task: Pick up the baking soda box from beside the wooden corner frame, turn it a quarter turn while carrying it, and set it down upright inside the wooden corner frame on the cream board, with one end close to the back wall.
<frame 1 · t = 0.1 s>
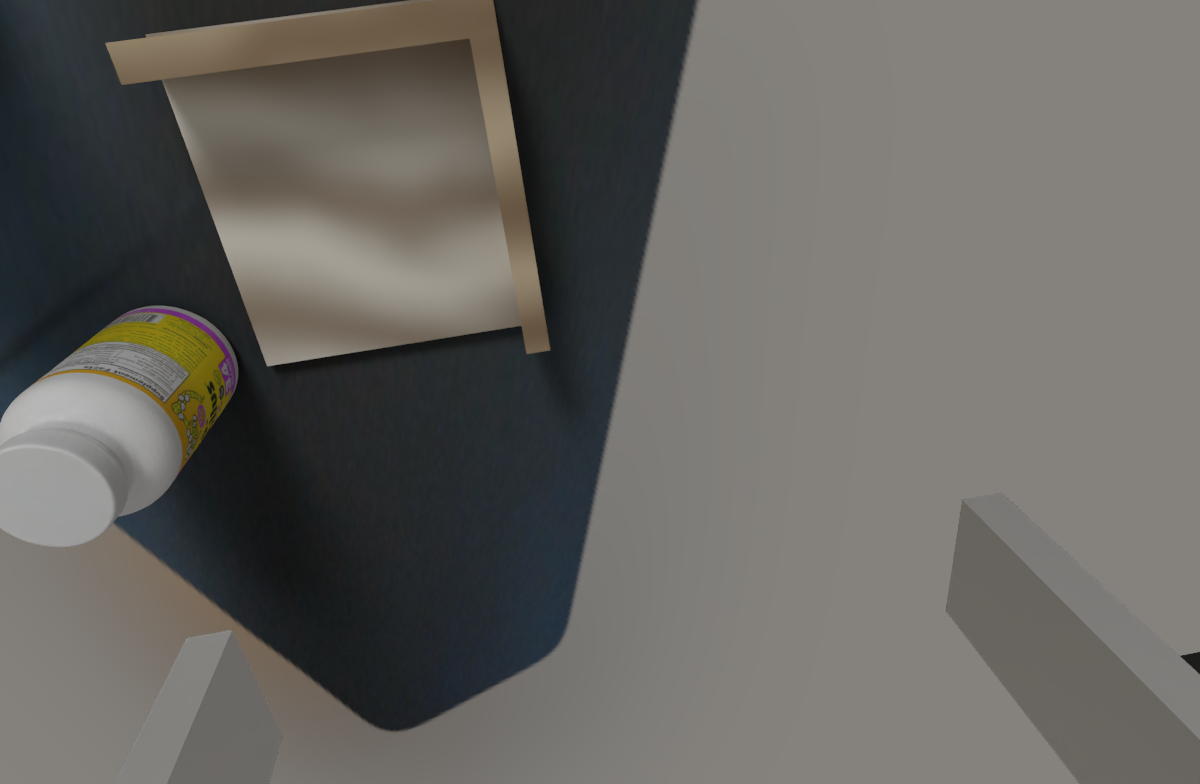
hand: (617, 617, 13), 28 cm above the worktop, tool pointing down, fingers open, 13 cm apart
supplement bottle: (177, 358, 39), on the worktop
wooden corner frame: (360, 194, 36), on the worktop
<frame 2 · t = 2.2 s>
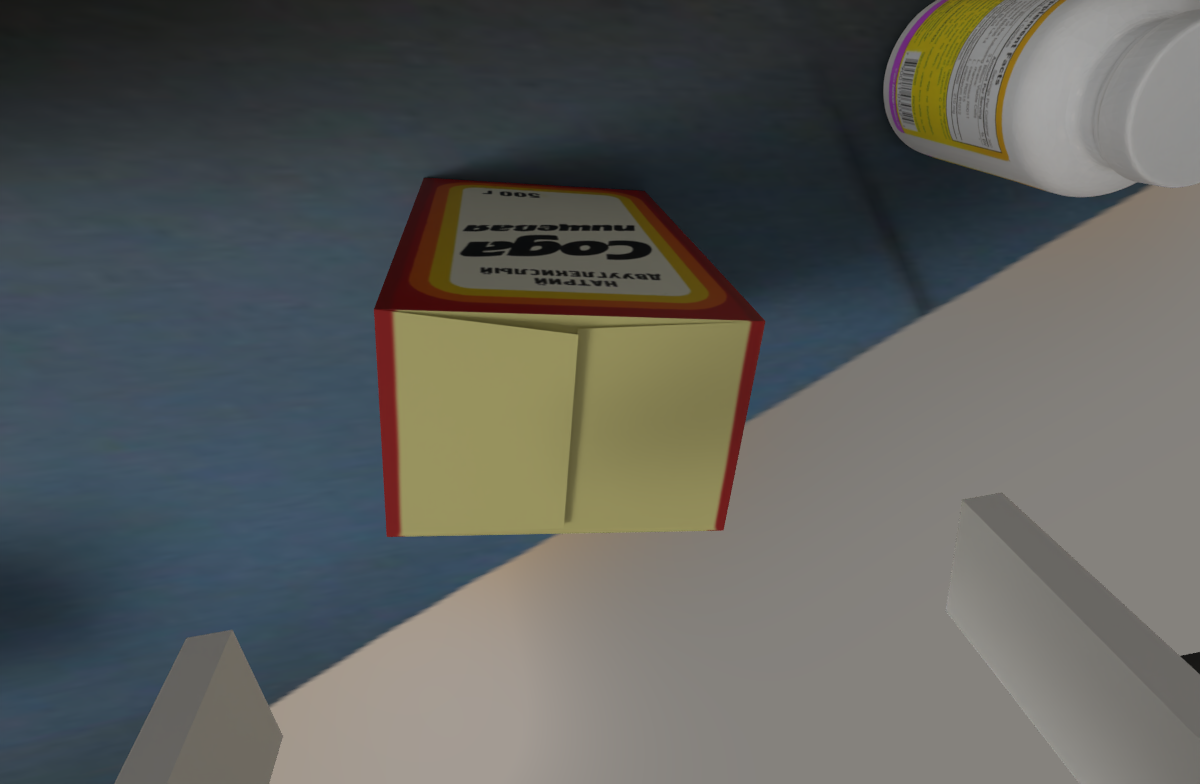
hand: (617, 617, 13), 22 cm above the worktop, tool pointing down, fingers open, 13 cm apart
baking soda box: (533, 257, 33), on the worktop
supplement bottle: (946, 74, 32), on the worktop
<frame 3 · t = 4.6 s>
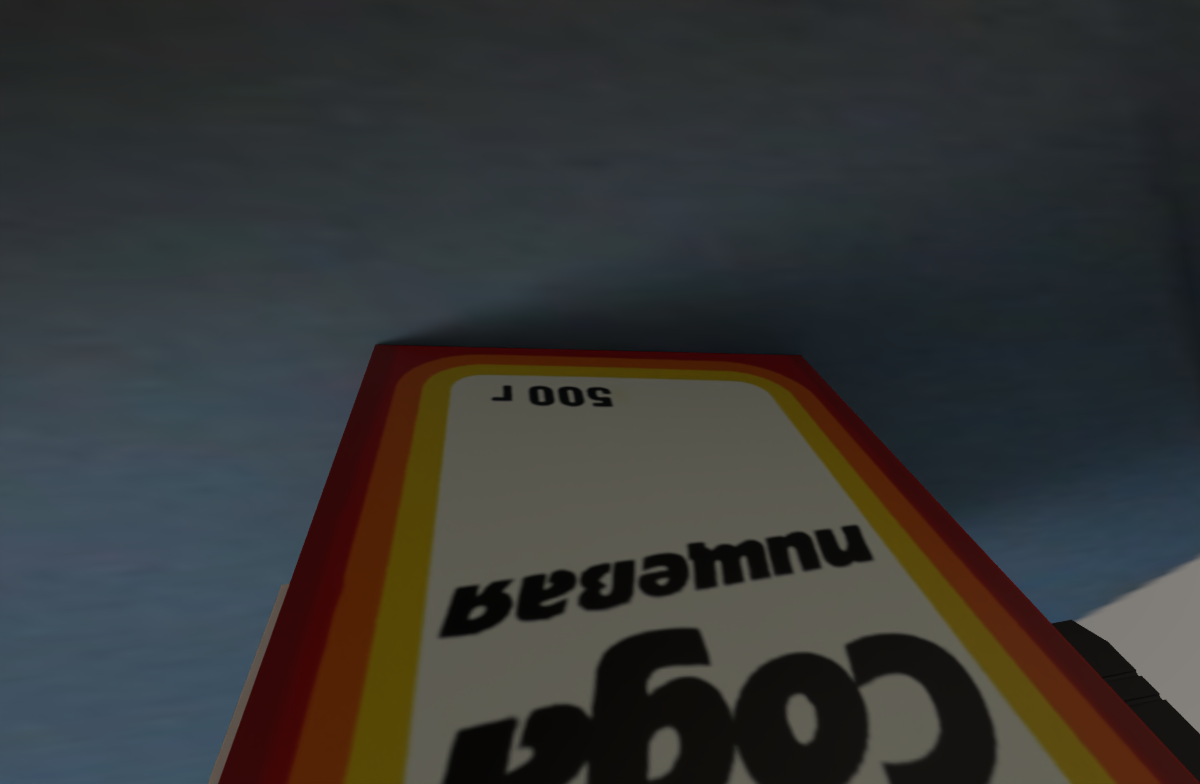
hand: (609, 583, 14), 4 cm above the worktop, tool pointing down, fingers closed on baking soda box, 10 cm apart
baking soda box: (585, 470, 18), on the worktop, touching gripper
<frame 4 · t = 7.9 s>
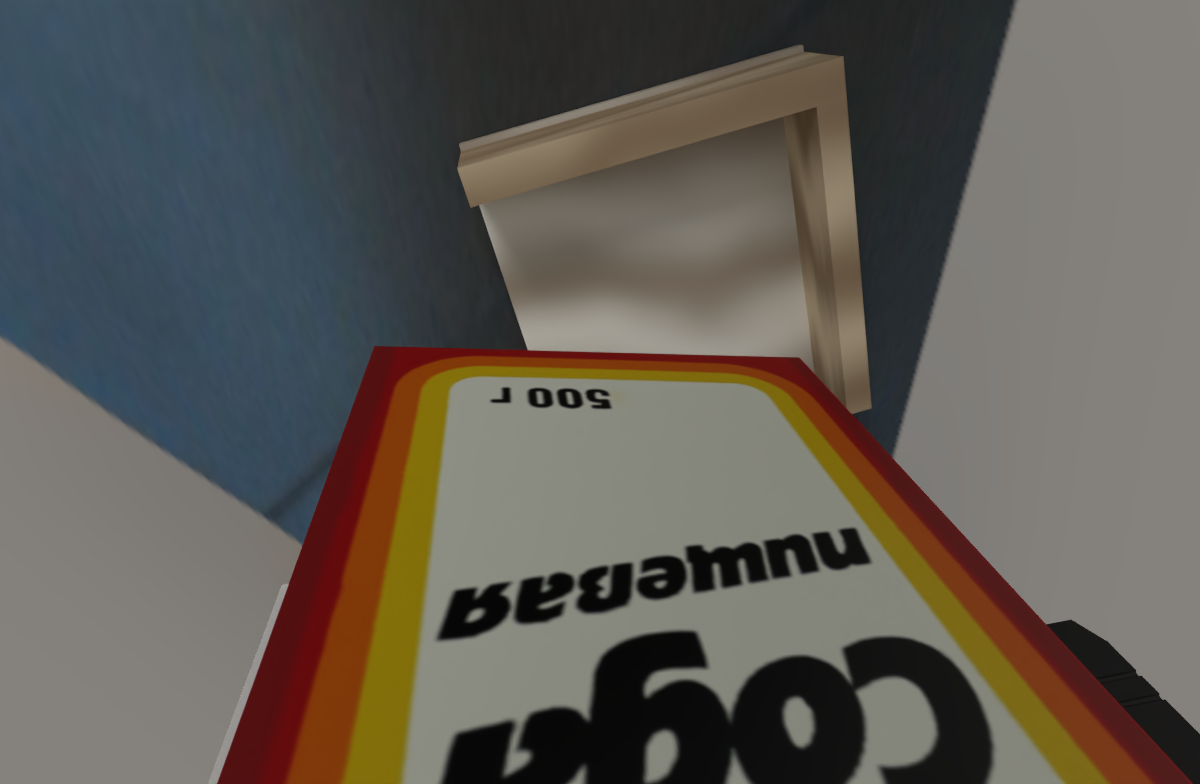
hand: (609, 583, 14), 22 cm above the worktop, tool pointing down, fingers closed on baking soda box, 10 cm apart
baking soda box: (584, 471, 18), point 18 cm above the worktop, touching gripper
wooden corner frame: (656, 270, 35), on the worktop
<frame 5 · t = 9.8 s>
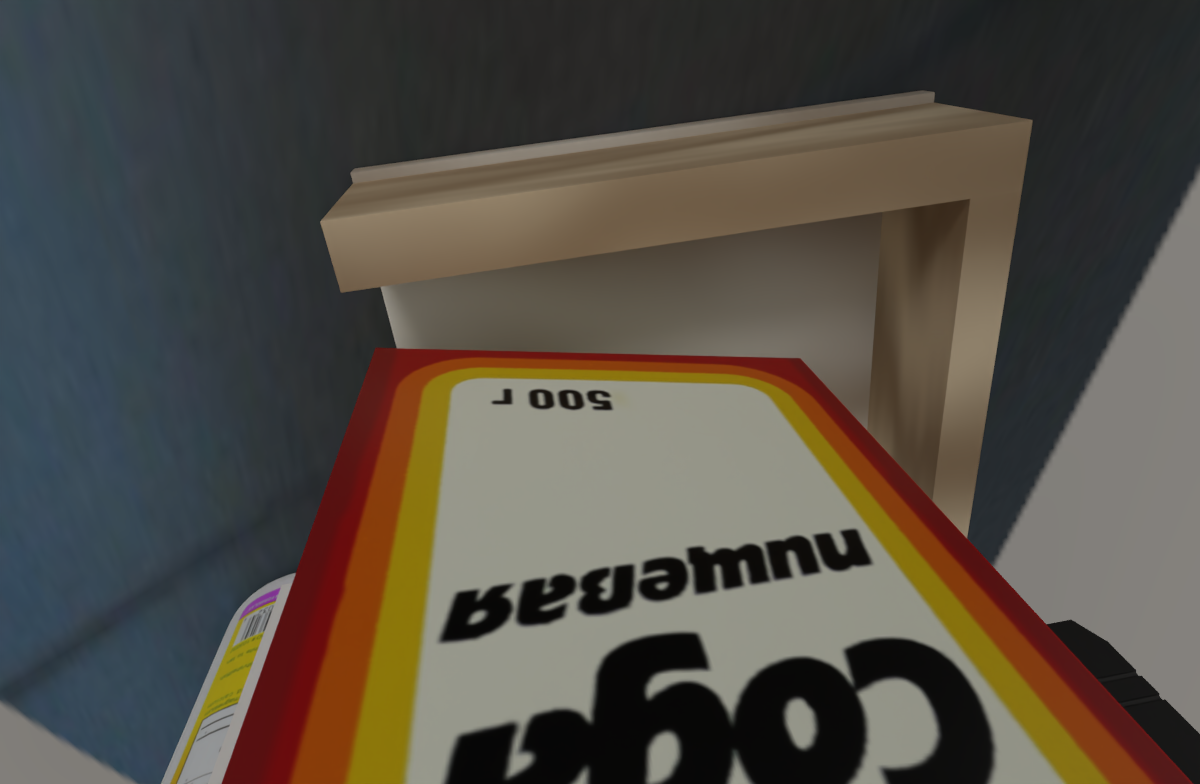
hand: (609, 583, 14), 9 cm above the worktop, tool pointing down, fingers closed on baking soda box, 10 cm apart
baking soda box: (585, 472, 18), point 5 cm above the worktop, touching gripper
supplement bottle: (336, 629, 25), on the worktop
wooden corner frame: (651, 401, 22), on the worktop
when the fingers open (5 cm above the worktop, at t = 11.5 s): baking soda box stays where it is, resting on wooden corner frame.
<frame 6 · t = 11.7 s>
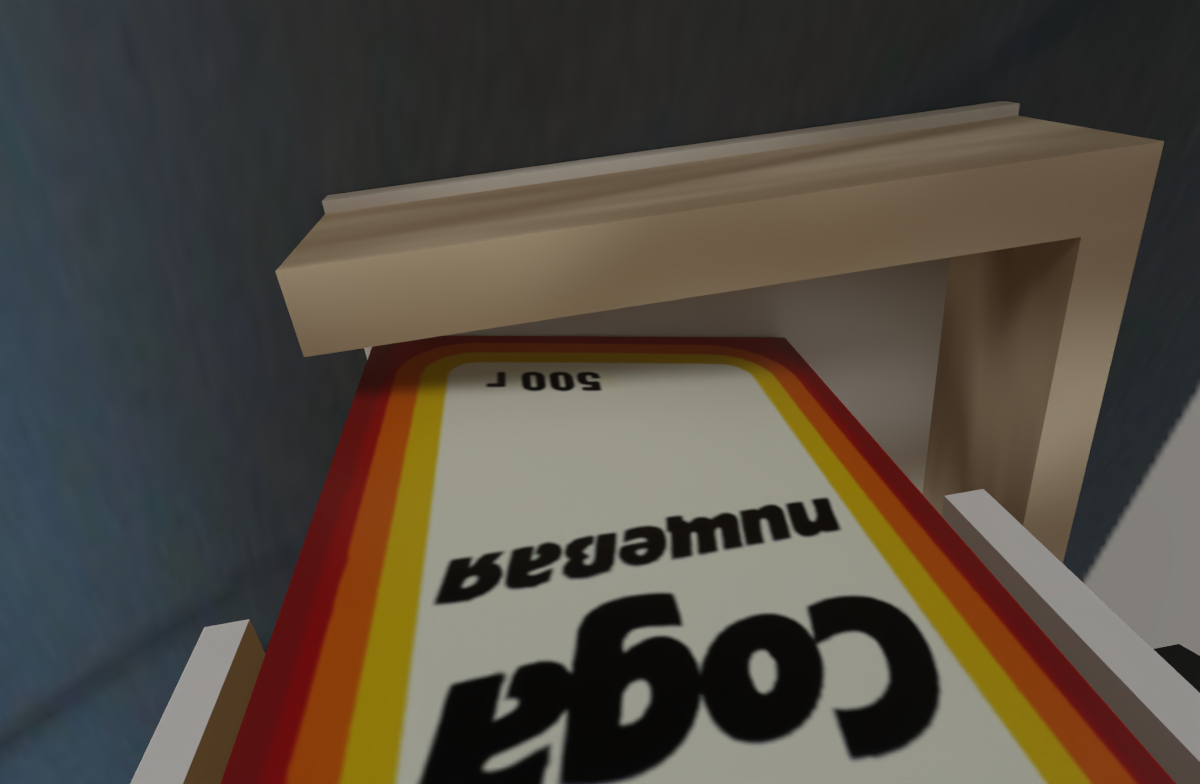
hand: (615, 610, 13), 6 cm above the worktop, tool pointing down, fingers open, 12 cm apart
baking soda box: (580, 451, 18), resting on wooden corner frame
wooden corner frame: (676, 458, 19), on the worktop
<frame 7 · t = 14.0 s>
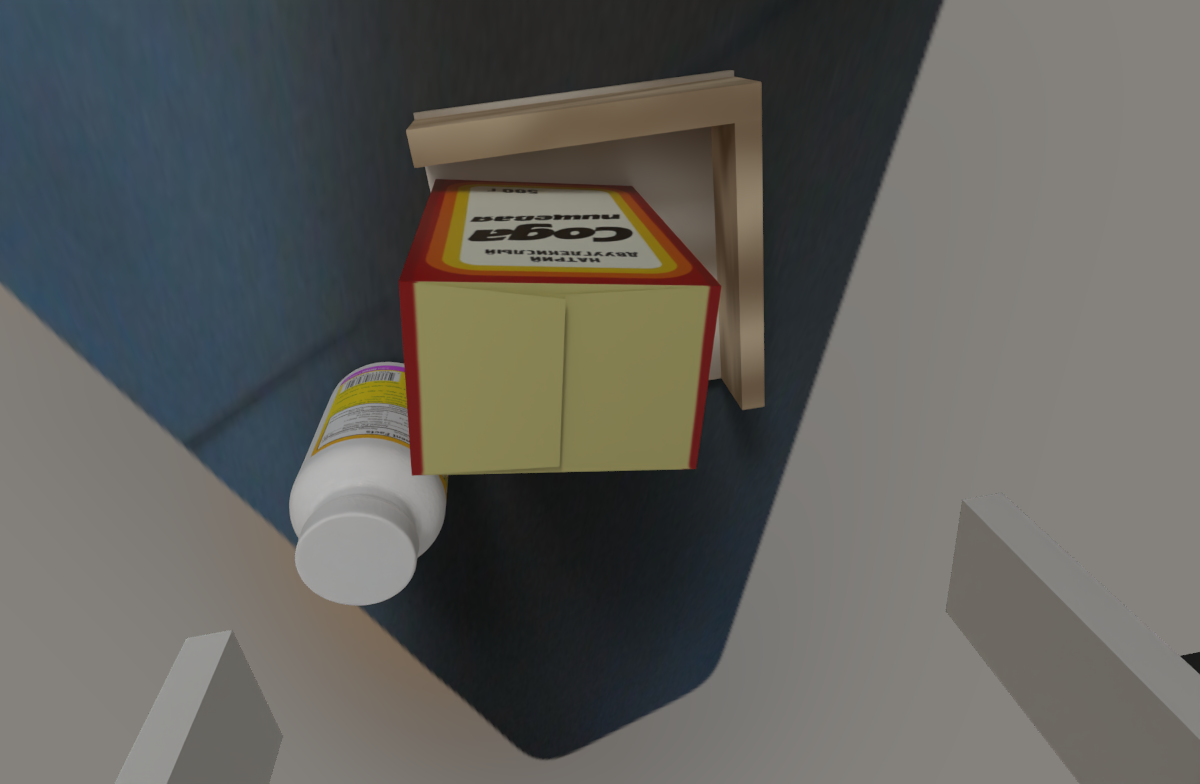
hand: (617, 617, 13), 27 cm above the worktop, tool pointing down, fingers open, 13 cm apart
baking soda box: (534, 247, 37), resting on wooden corner frame
supplement bottle: (393, 409, 40), on the worktop
wooden corner frame: (585, 257, 38), on the worktop
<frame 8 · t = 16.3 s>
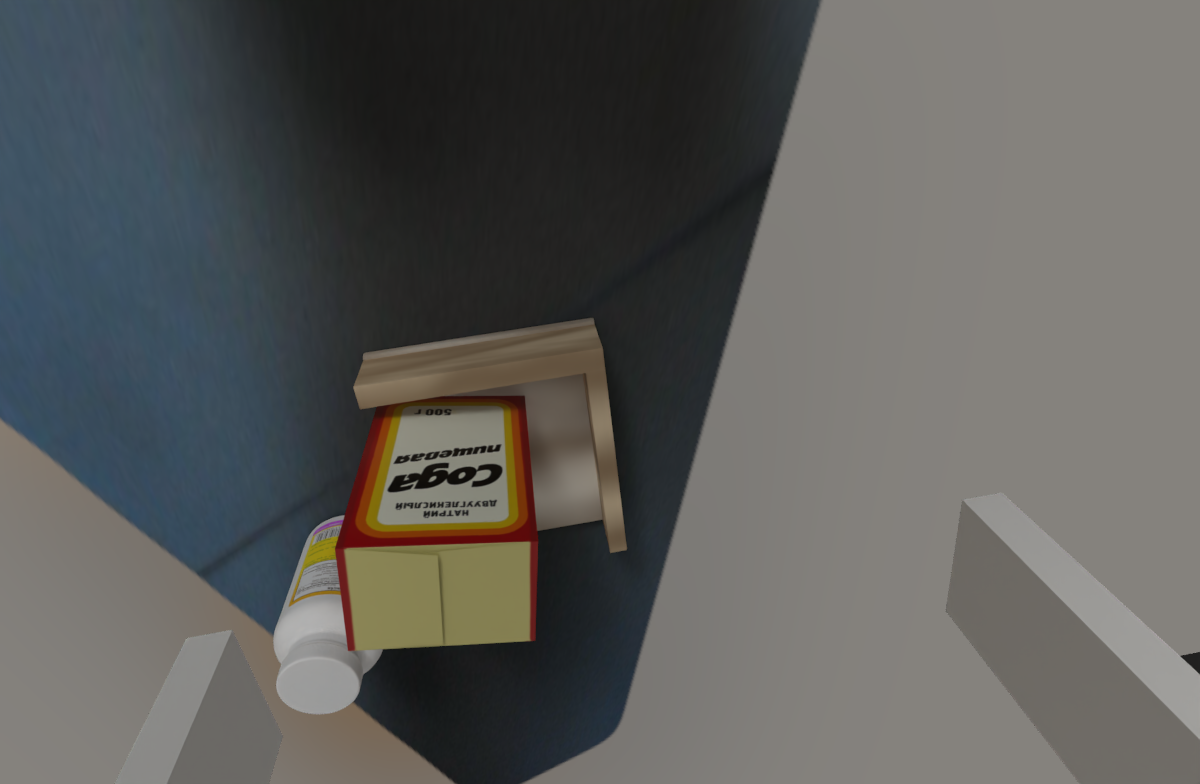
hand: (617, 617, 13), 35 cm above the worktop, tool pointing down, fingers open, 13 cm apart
baking soda box: (454, 436, 50), resting on wooden corner frame
supplement bottle: (354, 545, 54), on the worktop
wooden corner frame: (493, 440, 51), on the worktop
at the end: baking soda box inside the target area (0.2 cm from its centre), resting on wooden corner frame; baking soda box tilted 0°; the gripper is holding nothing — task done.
